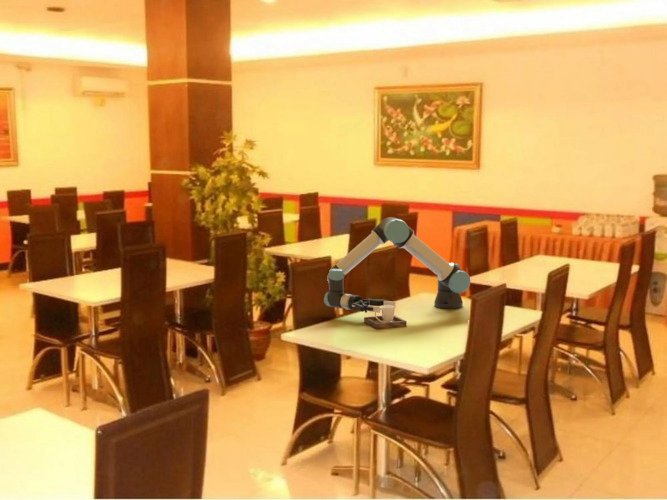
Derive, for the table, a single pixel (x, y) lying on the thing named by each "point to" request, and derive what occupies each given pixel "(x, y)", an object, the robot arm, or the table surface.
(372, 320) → the tray
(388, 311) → the cup
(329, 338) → the table surface
